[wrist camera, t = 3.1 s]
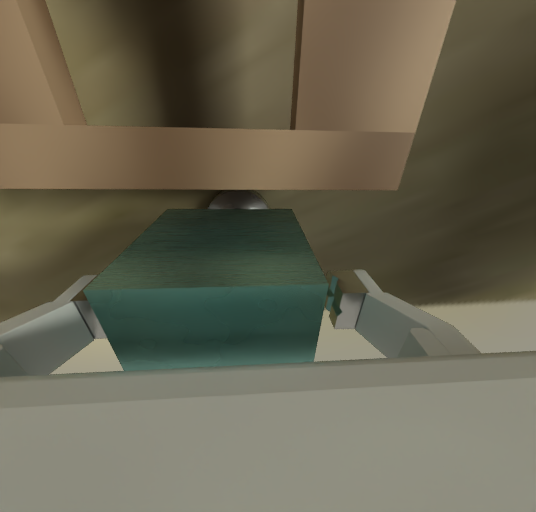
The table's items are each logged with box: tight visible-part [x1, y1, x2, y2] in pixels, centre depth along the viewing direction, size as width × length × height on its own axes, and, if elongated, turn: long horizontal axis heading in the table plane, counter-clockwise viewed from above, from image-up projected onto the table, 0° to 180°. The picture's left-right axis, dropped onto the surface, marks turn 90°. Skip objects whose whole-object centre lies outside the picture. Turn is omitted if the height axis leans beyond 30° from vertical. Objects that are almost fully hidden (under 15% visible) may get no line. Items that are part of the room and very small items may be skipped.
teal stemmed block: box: [83, 190, 329, 371], centre depth 11 cm, size 5×5×12 cm
